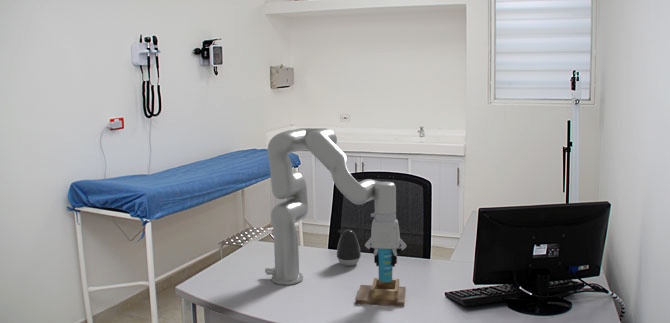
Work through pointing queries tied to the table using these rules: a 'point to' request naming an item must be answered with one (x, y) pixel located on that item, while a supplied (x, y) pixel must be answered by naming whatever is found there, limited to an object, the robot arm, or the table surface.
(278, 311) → the table surface
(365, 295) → the tube stand
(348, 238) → the dark grey egg-shaped piece
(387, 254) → the tube
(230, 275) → the table surface
